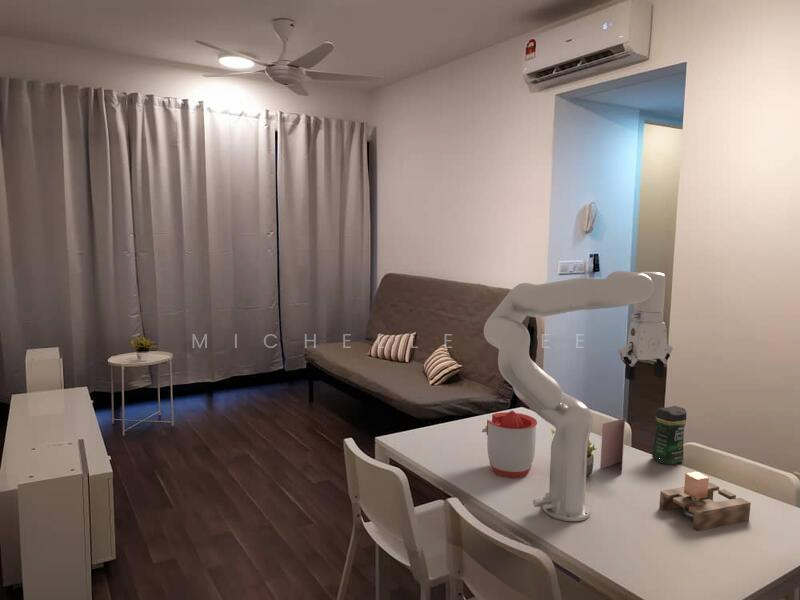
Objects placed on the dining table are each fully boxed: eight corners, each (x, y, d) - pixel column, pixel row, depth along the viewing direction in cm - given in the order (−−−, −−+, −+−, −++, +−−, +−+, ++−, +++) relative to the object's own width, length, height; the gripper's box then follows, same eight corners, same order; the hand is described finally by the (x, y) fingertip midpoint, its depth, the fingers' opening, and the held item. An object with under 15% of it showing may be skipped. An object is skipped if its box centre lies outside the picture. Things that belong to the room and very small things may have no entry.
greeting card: (620, 460, 197) (623, 417, 195) (639, 468, 190) (642, 423, 189) (598, 467, 191) (600, 423, 189) (617, 475, 184) (619, 429, 182)
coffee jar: (668, 467, 191) (672, 412, 189) (648, 458, 198) (651, 405, 196) (687, 462, 196) (691, 408, 193) (667, 454, 203) (671, 402, 200)
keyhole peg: (694, 521, 156) (697, 480, 154) (679, 513, 160) (682, 472, 159) (708, 518, 157) (711, 477, 156) (693, 510, 162) (696, 470, 161)
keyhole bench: (696, 530, 151) (698, 512, 150) (659, 507, 163) (660, 490, 162) (749, 520, 157) (750, 502, 156) (709, 499, 169) (710, 482, 168)
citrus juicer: (488, 457, 198) (490, 400, 196) (539, 466, 191) (542, 407, 188) (474, 474, 184) (475, 413, 182) (529, 485, 177) (531, 421, 174)
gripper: (631, 320, 153) (627, 384, 155) (683, 317, 159) (679, 379, 161) (612, 316, 160) (609, 377, 162) (663, 314, 166) (659, 372, 168)
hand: (644, 378), depth 162 cm, fingers open, 9 cm apart
